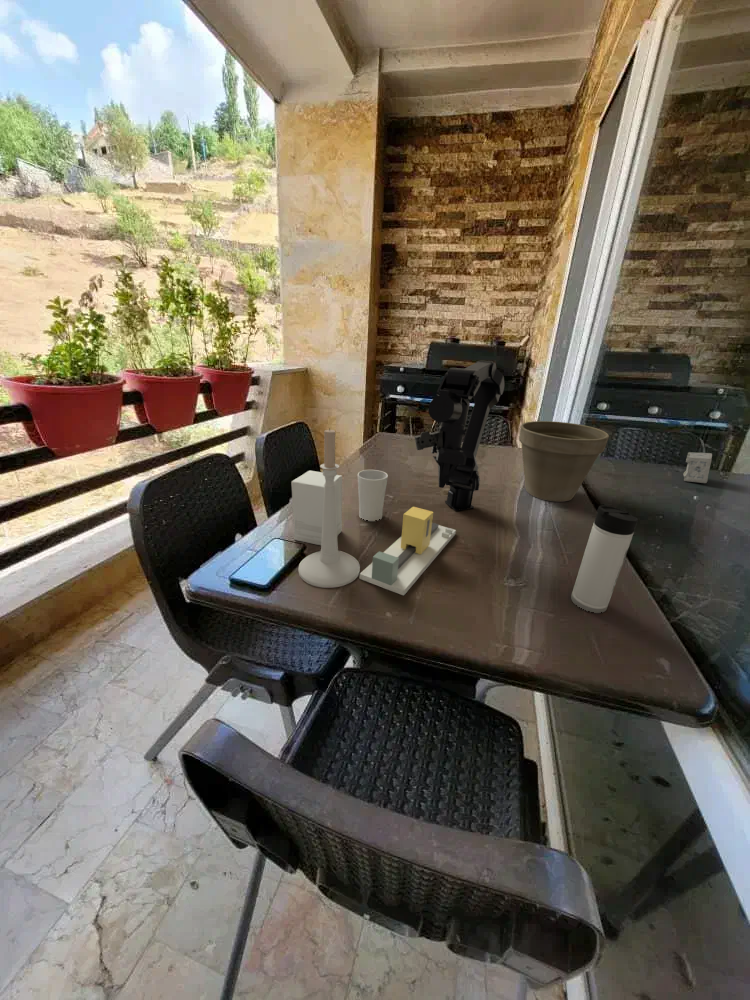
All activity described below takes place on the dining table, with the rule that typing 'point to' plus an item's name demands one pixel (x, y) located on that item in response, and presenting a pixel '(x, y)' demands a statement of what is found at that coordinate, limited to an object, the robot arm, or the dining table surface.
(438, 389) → the robot arm
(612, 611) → the dining table surface
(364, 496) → the cup
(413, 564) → the white slide rail base
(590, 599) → the travel mug
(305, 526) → the supplement box
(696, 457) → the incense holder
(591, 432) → the plant pot
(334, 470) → the candlestick
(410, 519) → the yellow sliding block
